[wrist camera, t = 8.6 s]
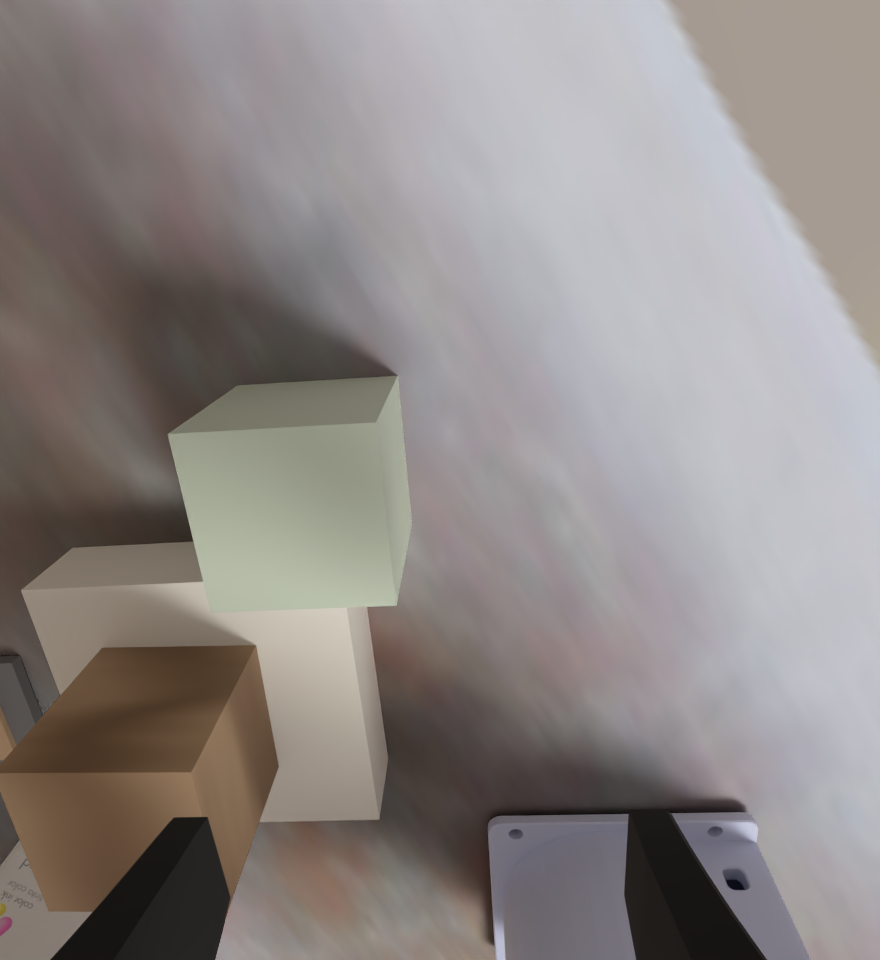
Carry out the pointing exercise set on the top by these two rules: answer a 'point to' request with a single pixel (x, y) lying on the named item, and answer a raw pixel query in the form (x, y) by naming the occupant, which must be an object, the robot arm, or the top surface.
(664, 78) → the top surface
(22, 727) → the tile
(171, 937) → the robot arm
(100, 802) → the walnut block
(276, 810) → the base block
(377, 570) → the sage block
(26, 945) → the ink cartridge box
